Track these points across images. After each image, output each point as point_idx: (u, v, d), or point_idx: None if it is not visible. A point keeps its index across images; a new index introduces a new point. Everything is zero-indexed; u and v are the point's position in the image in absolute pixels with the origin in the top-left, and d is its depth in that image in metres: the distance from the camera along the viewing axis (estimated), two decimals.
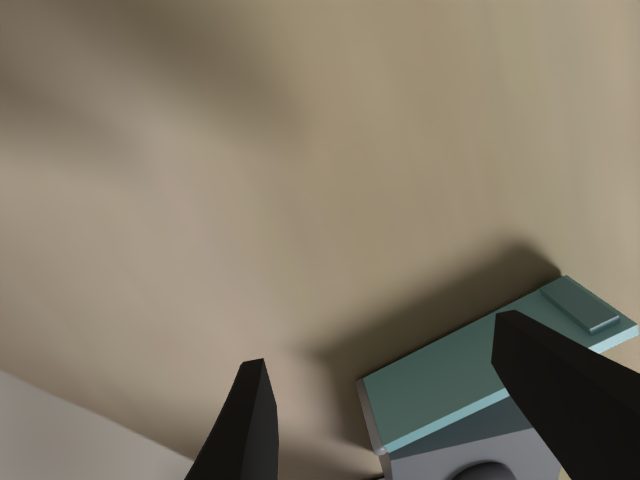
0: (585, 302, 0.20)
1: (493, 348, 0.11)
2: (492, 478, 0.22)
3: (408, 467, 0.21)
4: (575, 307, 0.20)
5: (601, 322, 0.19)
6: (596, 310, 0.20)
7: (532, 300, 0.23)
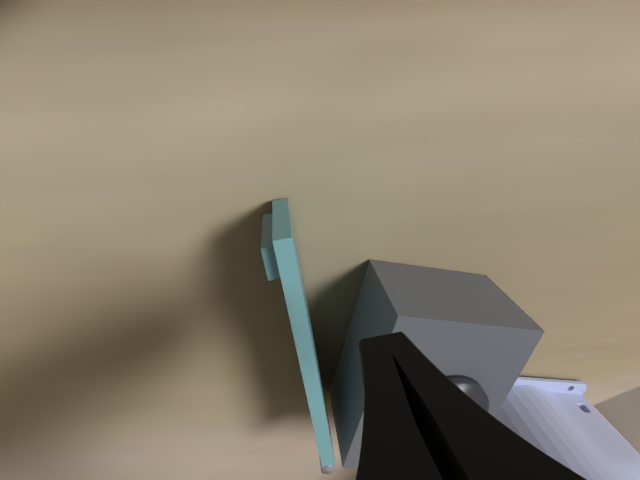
0: None
1: None
2: None
3: None
4: None
5: (265, 266, 0.15)
6: None
7: None
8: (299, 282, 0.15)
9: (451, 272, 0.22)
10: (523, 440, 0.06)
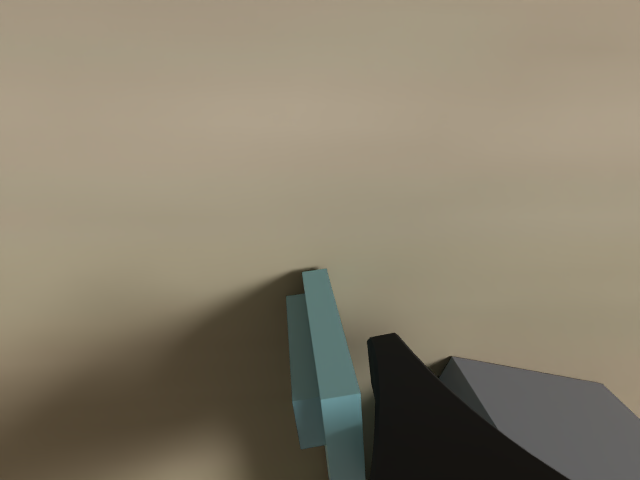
0: None
1: None
2: None
3: None
4: None
5: (297, 427, 0.08)
6: None
7: None
8: (362, 461, 0.08)
9: (561, 380, 0.15)
10: (512, 442, 0.06)
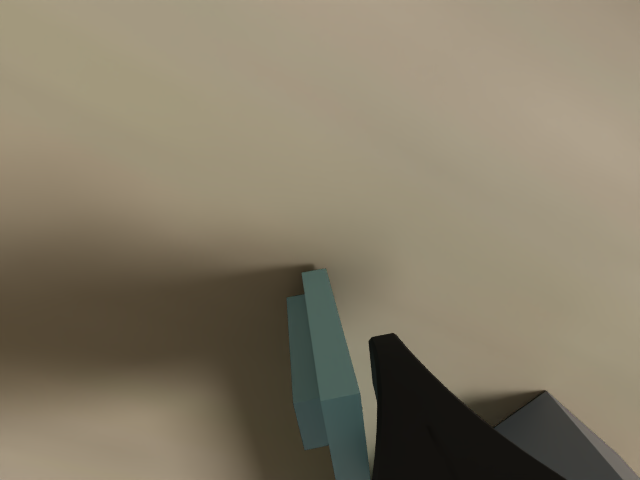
0: None
1: None
2: None
3: None
4: None
5: (299, 428, 0.08)
6: None
7: None
8: (366, 460, 0.08)
9: (602, 441, 0.18)
10: (510, 443, 0.06)
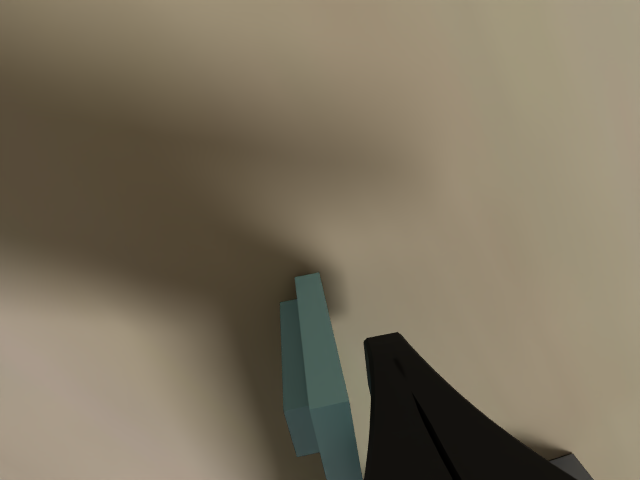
0: None
1: None
2: None
3: None
4: None
5: (291, 435, 0.08)
6: None
7: None
8: (358, 467, 0.08)
9: None
10: (517, 441, 0.06)
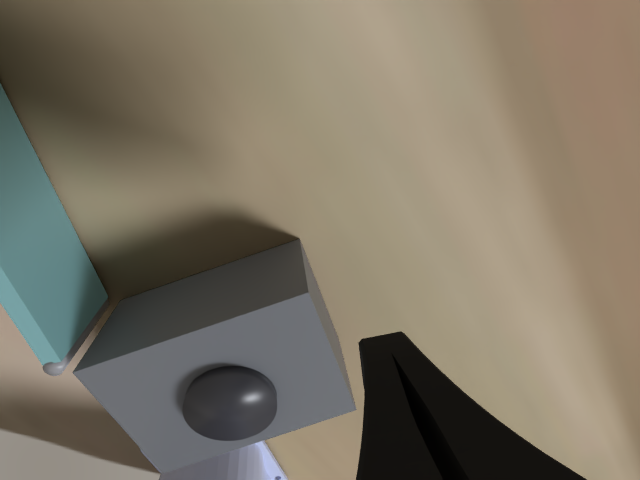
0: None
1: None
2: (227, 386, 0.16)
3: (107, 381, 0.16)
4: None
5: None
6: None
7: None
8: None
9: None
10: (523, 440, 0.06)
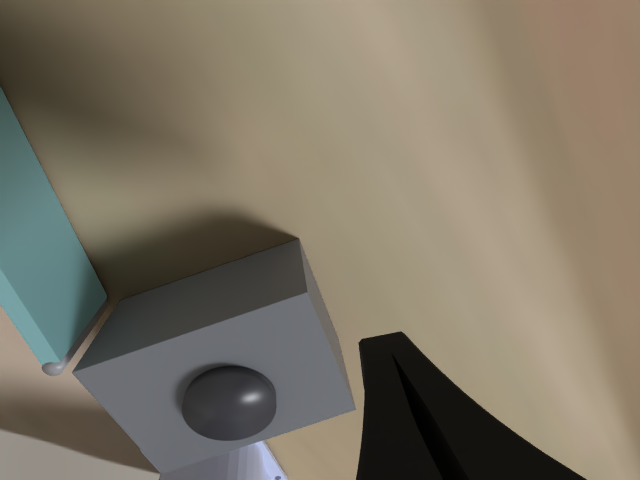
0: None
1: None
2: (226, 386, 0.16)
3: (106, 381, 0.16)
4: None
5: None
6: None
7: None
8: None
9: (327, 312, 0.22)
10: (523, 440, 0.06)
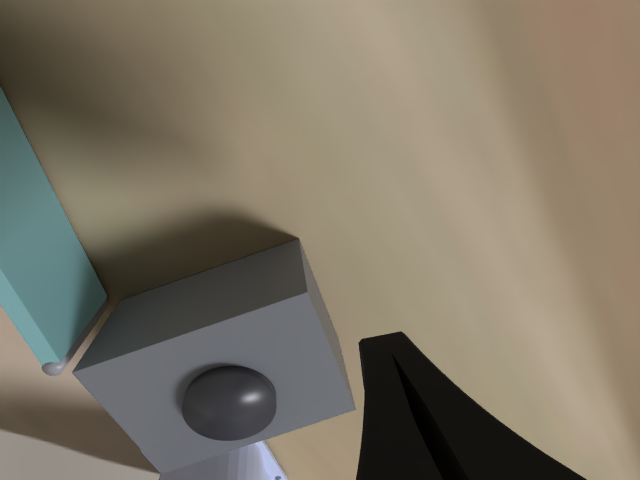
0: None
1: None
2: (226, 386, 0.16)
3: (106, 381, 0.16)
4: None
5: None
6: None
7: None
8: None
9: (327, 312, 0.22)
10: (523, 440, 0.06)
